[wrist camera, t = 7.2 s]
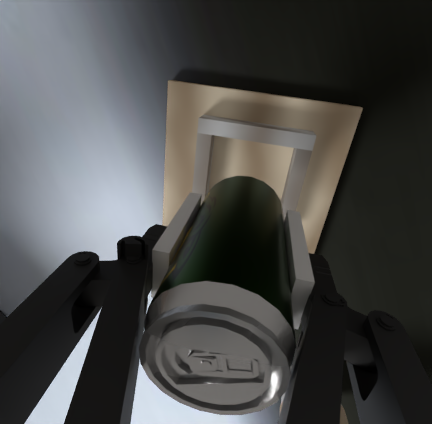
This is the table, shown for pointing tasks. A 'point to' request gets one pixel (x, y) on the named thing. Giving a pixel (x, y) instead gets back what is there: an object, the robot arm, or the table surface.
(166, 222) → the dock
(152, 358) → the beer can
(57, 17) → the table surface
